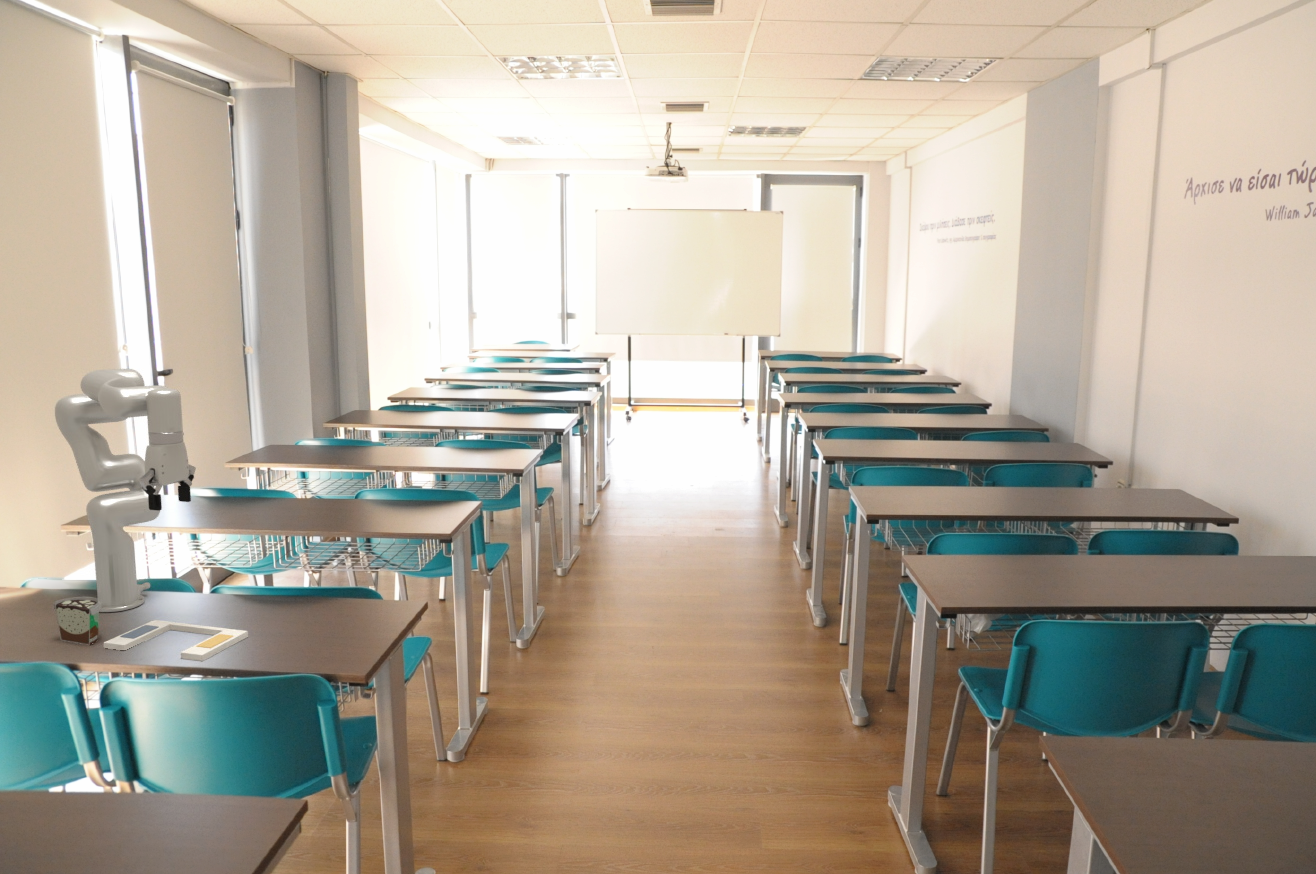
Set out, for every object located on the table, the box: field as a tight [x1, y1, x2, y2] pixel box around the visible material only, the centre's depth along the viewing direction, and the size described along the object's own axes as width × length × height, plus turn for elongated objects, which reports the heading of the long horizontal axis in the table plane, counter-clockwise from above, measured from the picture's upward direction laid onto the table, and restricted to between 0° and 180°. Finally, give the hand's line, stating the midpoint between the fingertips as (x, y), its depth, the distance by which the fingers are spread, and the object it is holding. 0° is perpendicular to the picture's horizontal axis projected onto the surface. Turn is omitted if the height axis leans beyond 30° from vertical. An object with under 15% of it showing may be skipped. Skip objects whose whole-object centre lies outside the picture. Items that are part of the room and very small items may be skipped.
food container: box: [53, 596, 102, 646], centre depth 219 cm, size 12×6×10 cm, turn 73°
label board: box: [103, 619, 249, 662], centre depth 219 cm, size 16×28×2 cm, turn 77°
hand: (170, 505), depth 220 cm, fingers open, 9 cm apart
